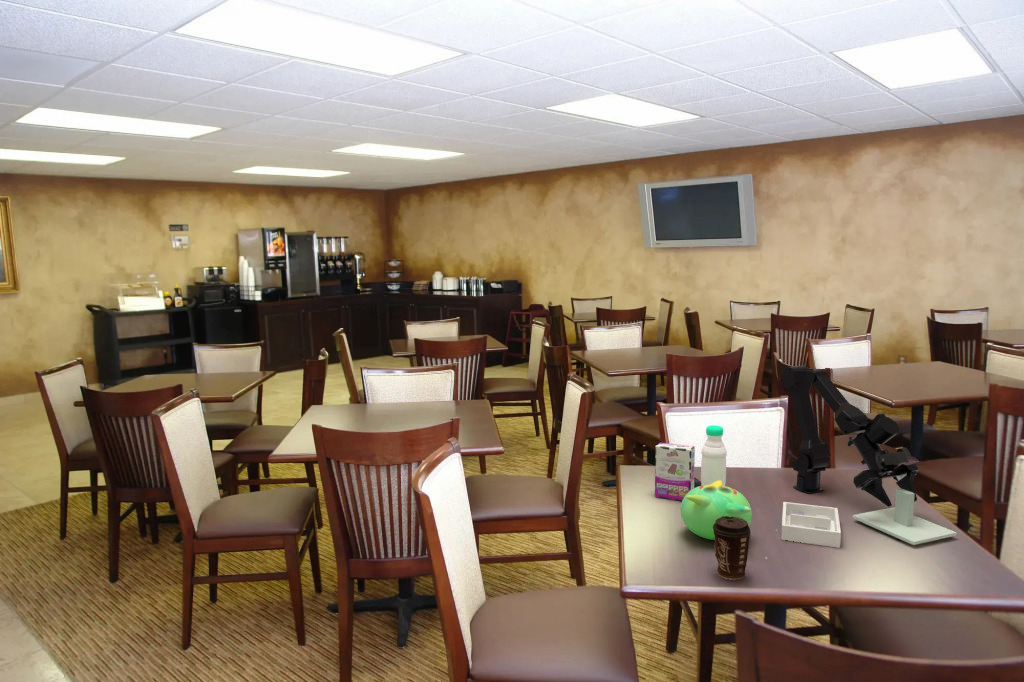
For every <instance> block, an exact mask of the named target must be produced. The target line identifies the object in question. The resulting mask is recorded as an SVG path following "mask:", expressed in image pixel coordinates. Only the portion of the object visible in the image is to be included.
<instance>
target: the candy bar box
mask: <svg viewBox="0 0 1024 682" xmlns="http://www.w3.org/2000/svg"><path fill="white" fill-rule="evenodd" d="M695 447H696V446H695V445H687V444H675V443H668V442H659V443H658V444H657V445H655V447H654V451H655V452H654V453H655V454H654V455H655V458H654V460H655V462H654V463H655V464H654V466H655V468H654V497H655V498H658V499H666V500H671V501H678V502H682V501H683V499H684V497H685V495H686V494H687V493H688V492H689V491H691V490H692V489H694V477H695V463H696V462H695V459H696V458H695V457H696V455H695V451H696V448H695Z"/></svg>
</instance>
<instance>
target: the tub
mask: <svg viewBox="0 0 1024 682" xmlns="http://www.w3.org/2000/svg"><path fill="white" fill-rule="evenodd" d="M782 502H783V503H782V517H781V518H782V519H781V538H780V539H781V541H785V540H788V541H787V542H793V541H794V542H793V543H800V542H801V543H802V544H808V545H815V546H823V547H832V548H837V549H840V548H841V542H842V540H841V538H842V531H841V525H840V524H841V523H840V517H839V516H840V515H839V511H838V507H831V506H821V505H813V504H805V503H798V502H789V501H788V502H787V501H782Z"/></svg>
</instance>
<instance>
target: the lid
mask: <svg viewBox="0 0 1024 682" xmlns="http://www.w3.org/2000/svg"><path fill="white" fill-rule="evenodd" d="M914 494H915V493H912V492H910V491H907V490H904V489H901V488H898V489H897V488H896V489H895V500H894V506H893V507H887V508H883V509H878V510H877V509H876V510H872V511H866V512H862V513H856V514H853V515H852V519H854V520H856V521H859V522H861V523H863V524H865V525H867V526H869V527H871V528H873V529H876V530H878V531H880V532H883V533H885V534H887V535H889V536H891V537H893V538H896V539H898V540H901V541H903V542H905V543H907V544H910V546H911V545H913V546H916V545H920V544H924V543H929V542H933V541H937V540H941V539H946V538H950V537H955V536H957V534H958V533H957V531H954V530H951V529H949V528H947V527H945V526H942V525H939V524H936V523H935V522H932V521H929V520H927V519H924V518H922V517H919V516H916V515H914V510H915V509H914V506H915V502H914Z"/></svg>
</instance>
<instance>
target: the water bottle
mask: <svg viewBox="0 0 1024 682" xmlns="http://www.w3.org/2000/svg"><path fill="white" fill-rule="evenodd" d="M705 433H706V434H705V435H706V436H707V437H706V440H705V442H704V444H703V445H702V447H701V451H700V452H701V463H700V482H701V486H702V485H709V484H712V483H713V482H715V481H718V480H721V481H722V485H723V486H726V481H727V455H728V451H727V448H726V446H725V444H724V442H723V440H722V437H723V436H724V428H723V427H722V426H720V425H713V424H712V425H708V426H706V428H705Z"/></svg>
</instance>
